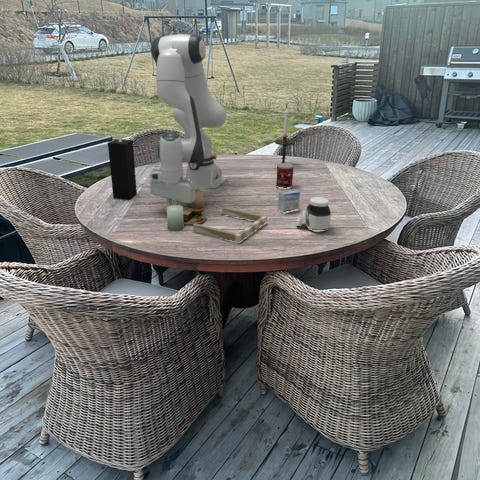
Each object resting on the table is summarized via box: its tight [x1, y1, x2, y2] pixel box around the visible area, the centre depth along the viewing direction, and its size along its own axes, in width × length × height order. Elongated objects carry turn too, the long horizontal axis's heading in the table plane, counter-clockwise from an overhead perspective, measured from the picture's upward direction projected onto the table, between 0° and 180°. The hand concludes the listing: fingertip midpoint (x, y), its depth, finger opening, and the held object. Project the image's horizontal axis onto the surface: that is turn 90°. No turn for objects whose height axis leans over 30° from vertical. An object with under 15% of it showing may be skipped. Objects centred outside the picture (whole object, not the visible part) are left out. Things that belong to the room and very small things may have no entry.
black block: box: [107, 133, 138, 201], centre depth 193 cm, size 8×8×28 cm
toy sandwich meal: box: [181, 205, 207, 226], centre depth 175 cm, size 12×14×5 cm
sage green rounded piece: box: [166, 204, 185, 232], centre depth 167 cm, size 6×6×8 cm
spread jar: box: [296, 196, 332, 231], centre depth 168 cm, size 12×11×12 cm
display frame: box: [192, 206, 268, 242], centre depth 169 cm, size 22×20×3 cm
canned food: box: [275, 162, 294, 188], centre depth 214 cm, size 8×8×11 cm
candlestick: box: [274, 103, 296, 163], centre depth 243 cm, size 11×11×35 cm
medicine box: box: [277, 189, 301, 212], centre depth 185 cm, size 8×4×9 cm, turn 117°
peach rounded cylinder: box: [188, 189, 204, 210], centre depth 187 cm, size 6×6×7 cm
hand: (173, 209), depth 180 cm, fingers closed
